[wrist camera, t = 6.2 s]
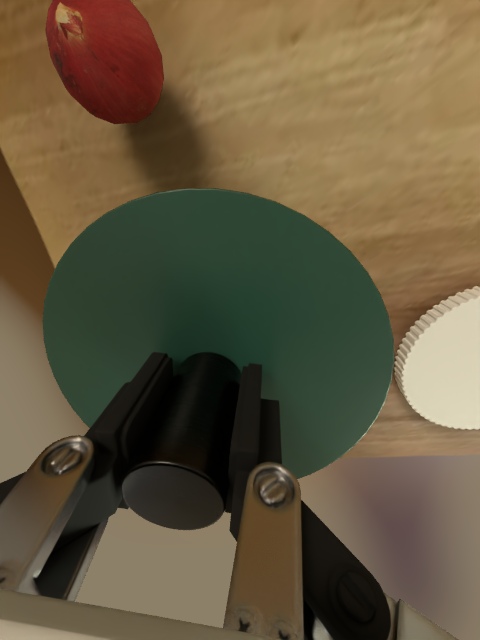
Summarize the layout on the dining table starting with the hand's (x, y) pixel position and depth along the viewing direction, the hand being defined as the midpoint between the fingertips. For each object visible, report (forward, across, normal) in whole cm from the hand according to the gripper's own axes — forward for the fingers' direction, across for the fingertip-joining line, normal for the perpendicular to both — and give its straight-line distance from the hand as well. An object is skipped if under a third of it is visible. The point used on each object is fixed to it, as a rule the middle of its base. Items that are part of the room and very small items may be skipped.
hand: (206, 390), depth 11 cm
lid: (+1, 0, 0) cm, 1 cm away
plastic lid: (+15, -22, +5) cm, 27 cm away
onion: (+15, +8, -13) cm, 22 cm away
